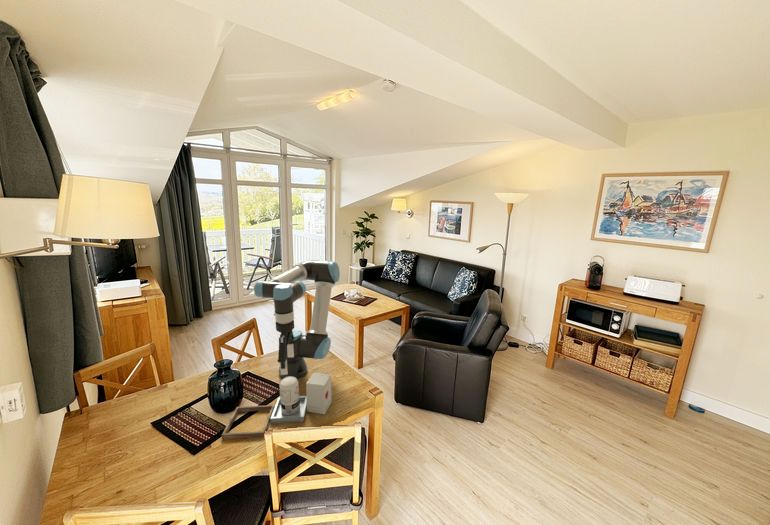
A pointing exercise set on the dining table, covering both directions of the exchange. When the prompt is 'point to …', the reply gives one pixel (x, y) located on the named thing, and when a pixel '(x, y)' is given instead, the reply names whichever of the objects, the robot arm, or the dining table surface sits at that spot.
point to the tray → (282, 418)
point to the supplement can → (289, 395)
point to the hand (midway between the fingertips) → (287, 365)
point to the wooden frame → (247, 434)
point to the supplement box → (318, 393)
